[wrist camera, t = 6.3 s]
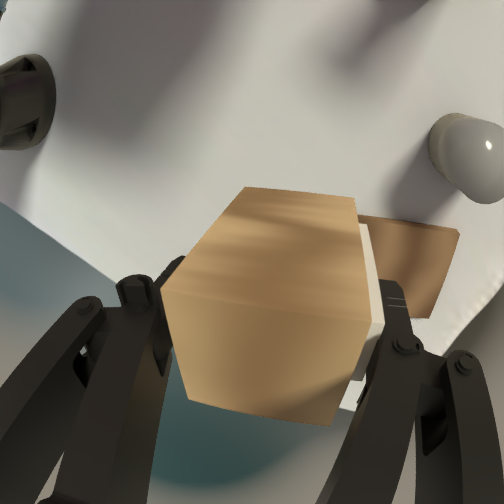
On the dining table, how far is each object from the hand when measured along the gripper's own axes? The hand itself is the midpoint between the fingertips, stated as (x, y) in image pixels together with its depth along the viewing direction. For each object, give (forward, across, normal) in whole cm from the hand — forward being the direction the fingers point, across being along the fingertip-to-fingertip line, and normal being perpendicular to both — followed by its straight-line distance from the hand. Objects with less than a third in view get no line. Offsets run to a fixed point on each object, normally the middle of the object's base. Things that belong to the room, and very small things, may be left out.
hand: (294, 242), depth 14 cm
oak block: (0, 0, 0) cm, 0 cm away
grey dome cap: (+17, +15, +4) cm, 23 cm away
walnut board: (+17, +11, -11) cm, 23 cm away
